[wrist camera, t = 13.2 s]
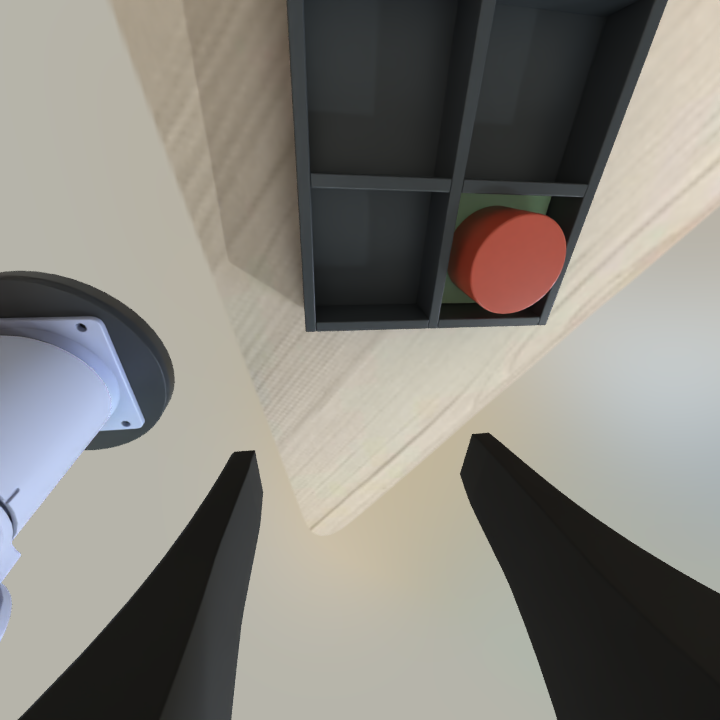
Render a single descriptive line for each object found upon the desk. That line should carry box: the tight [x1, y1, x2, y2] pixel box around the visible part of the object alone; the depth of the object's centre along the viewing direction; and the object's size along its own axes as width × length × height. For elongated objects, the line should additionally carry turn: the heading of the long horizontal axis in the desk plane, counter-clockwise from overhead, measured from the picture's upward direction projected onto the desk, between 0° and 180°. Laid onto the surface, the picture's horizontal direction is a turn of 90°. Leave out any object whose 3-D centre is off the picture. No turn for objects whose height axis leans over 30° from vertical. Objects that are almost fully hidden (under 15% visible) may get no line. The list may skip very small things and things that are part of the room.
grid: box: [287, 0, 668, 332], centre depth 14 cm, size 13×13×3 cm
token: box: [447, 206, 566, 314], centre depth 15 cm, size 4×4×3 cm
